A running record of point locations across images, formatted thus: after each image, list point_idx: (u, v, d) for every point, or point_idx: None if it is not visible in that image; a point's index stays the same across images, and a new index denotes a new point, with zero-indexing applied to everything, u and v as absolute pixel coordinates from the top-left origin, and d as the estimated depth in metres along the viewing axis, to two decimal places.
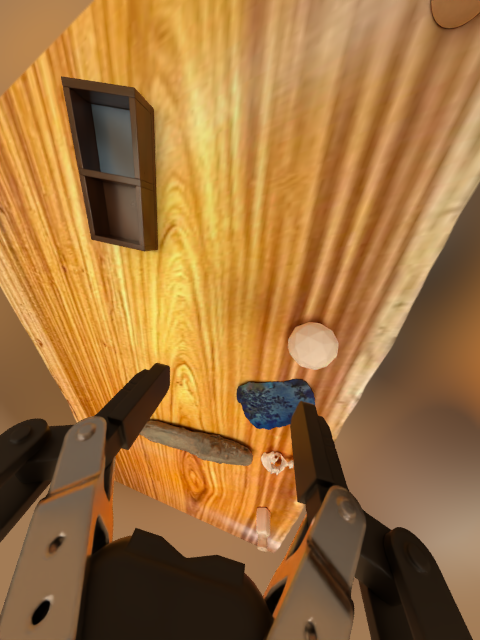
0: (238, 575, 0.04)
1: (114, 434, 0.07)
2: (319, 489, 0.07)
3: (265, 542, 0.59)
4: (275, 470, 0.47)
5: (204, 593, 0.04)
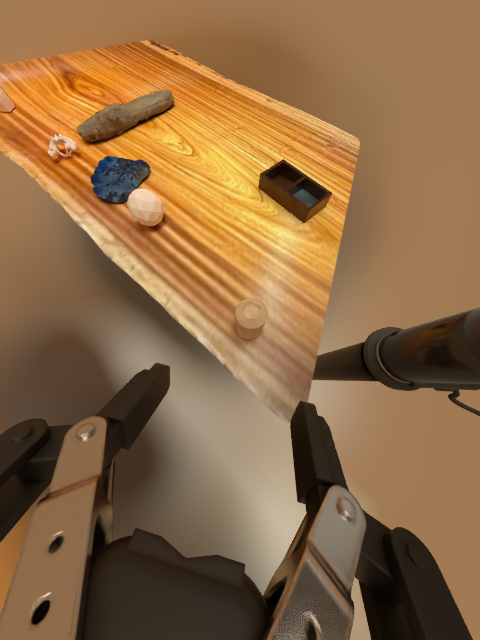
0: (238, 575, 0.04)
1: (114, 434, 0.07)
2: (319, 489, 0.07)
3: None
4: (57, 137, 0.51)
5: (204, 593, 0.04)
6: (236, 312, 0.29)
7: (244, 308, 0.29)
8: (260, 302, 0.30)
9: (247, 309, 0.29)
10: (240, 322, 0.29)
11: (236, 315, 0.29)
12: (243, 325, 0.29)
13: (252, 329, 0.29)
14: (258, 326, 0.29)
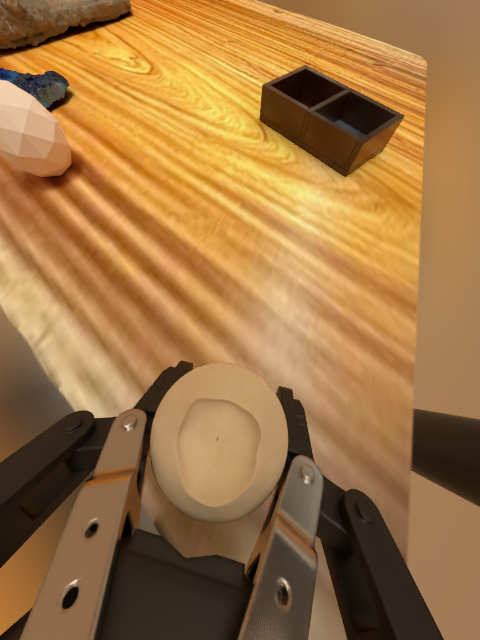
0: (238, 575, 0.04)
1: None
2: (287, 459, 0.07)
3: None
4: None
5: (204, 593, 0.04)
6: (153, 435, 0.07)
7: (180, 430, 0.06)
8: (257, 389, 0.07)
9: (201, 428, 0.07)
10: (164, 491, 0.06)
11: (152, 452, 0.07)
12: (177, 506, 0.06)
13: None
14: (246, 511, 0.06)
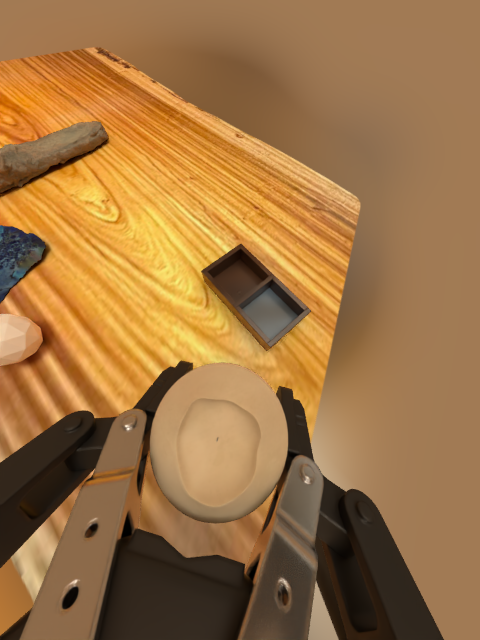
0: (238, 575, 0.04)
1: None
2: (287, 459, 0.07)
3: None
4: None
5: (204, 593, 0.04)
6: (153, 435, 0.07)
7: (180, 429, 0.06)
8: (257, 389, 0.07)
9: (201, 428, 0.07)
10: (164, 491, 0.06)
11: (152, 453, 0.07)
12: (177, 506, 0.06)
13: None
14: (246, 512, 0.06)
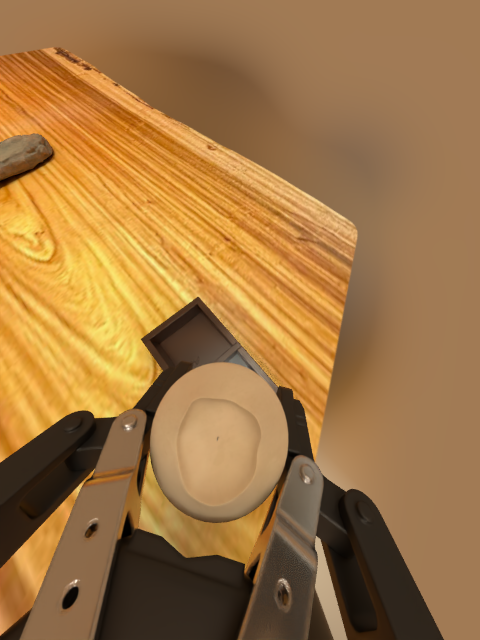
0: (238, 575, 0.04)
1: None
2: (287, 459, 0.07)
3: None
4: None
5: (204, 593, 0.04)
6: (153, 434, 0.07)
7: (180, 429, 0.06)
8: (258, 388, 0.07)
9: (201, 427, 0.06)
10: (164, 490, 0.06)
11: (152, 452, 0.07)
12: (177, 506, 0.06)
13: None
14: (247, 511, 0.06)
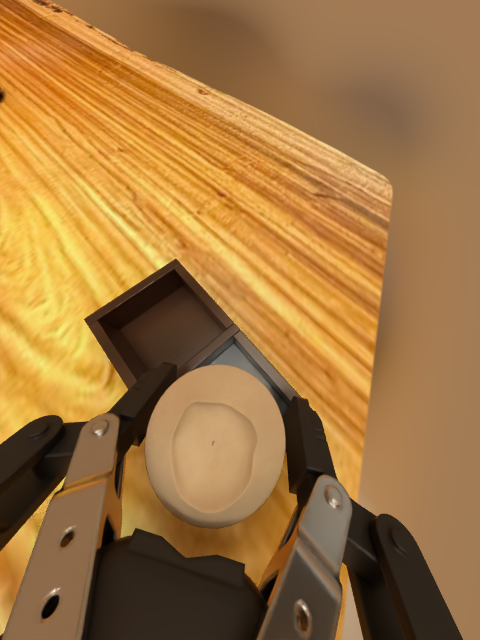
0: (238, 575, 0.04)
1: (126, 431, 0.07)
2: (309, 479, 0.07)
3: None
4: None
5: (204, 593, 0.04)
6: (148, 438, 0.07)
7: (175, 434, 0.06)
8: (254, 391, 0.07)
9: (197, 431, 0.06)
10: (159, 495, 0.06)
11: (147, 457, 0.06)
12: (172, 511, 0.06)
13: None
14: (243, 517, 0.06)
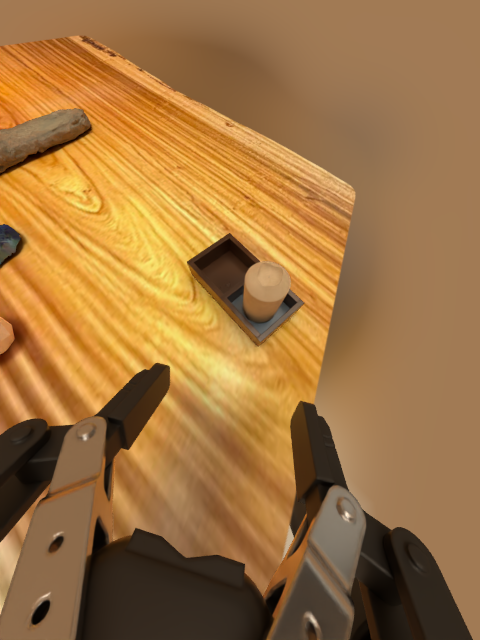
0: (238, 575, 0.04)
1: (114, 434, 0.07)
2: (319, 489, 0.07)
3: None
4: None
5: (204, 593, 0.04)
6: (247, 279, 0.21)
7: (258, 272, 0.20)
8: (280, 266, 0.21)
9: (263, 275, 0.20)
10: (252, 292, 0.20)
11: (247, 283, 0.21)
12: (257, 297, 0.20)
13: (269, 303, 0.21)
14: (278, 298, 0.20)
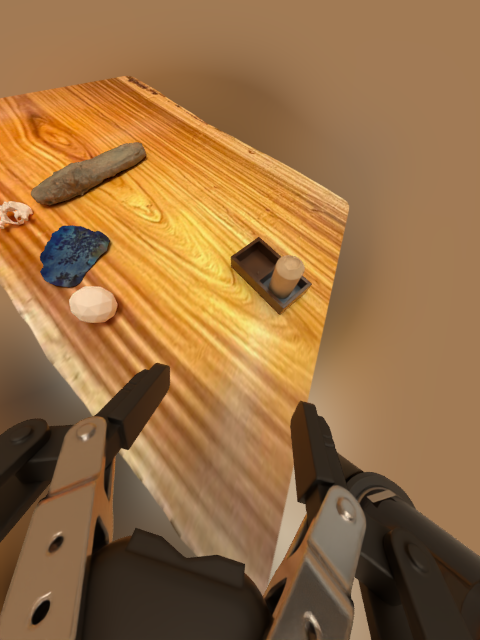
0: (238, 575, 0.04)
1: (114, 434, 0.07)
2: (319, 489, 0.07)
3: None
4: (4, 207, 0.45)
5: (204, 593, 0.04)
6: (277, 266, 0.34)
7: (284, 261, 0.33)
8: (298, 258, 0.34)
9: (287, 263, 0.33)
10: (281, 274, 0.33)
11: (277, 268, 0.33)
12: (284, 276, 0.33)
13: (291, 280, 0.34)
14: (297, 277, 0.33)
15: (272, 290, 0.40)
